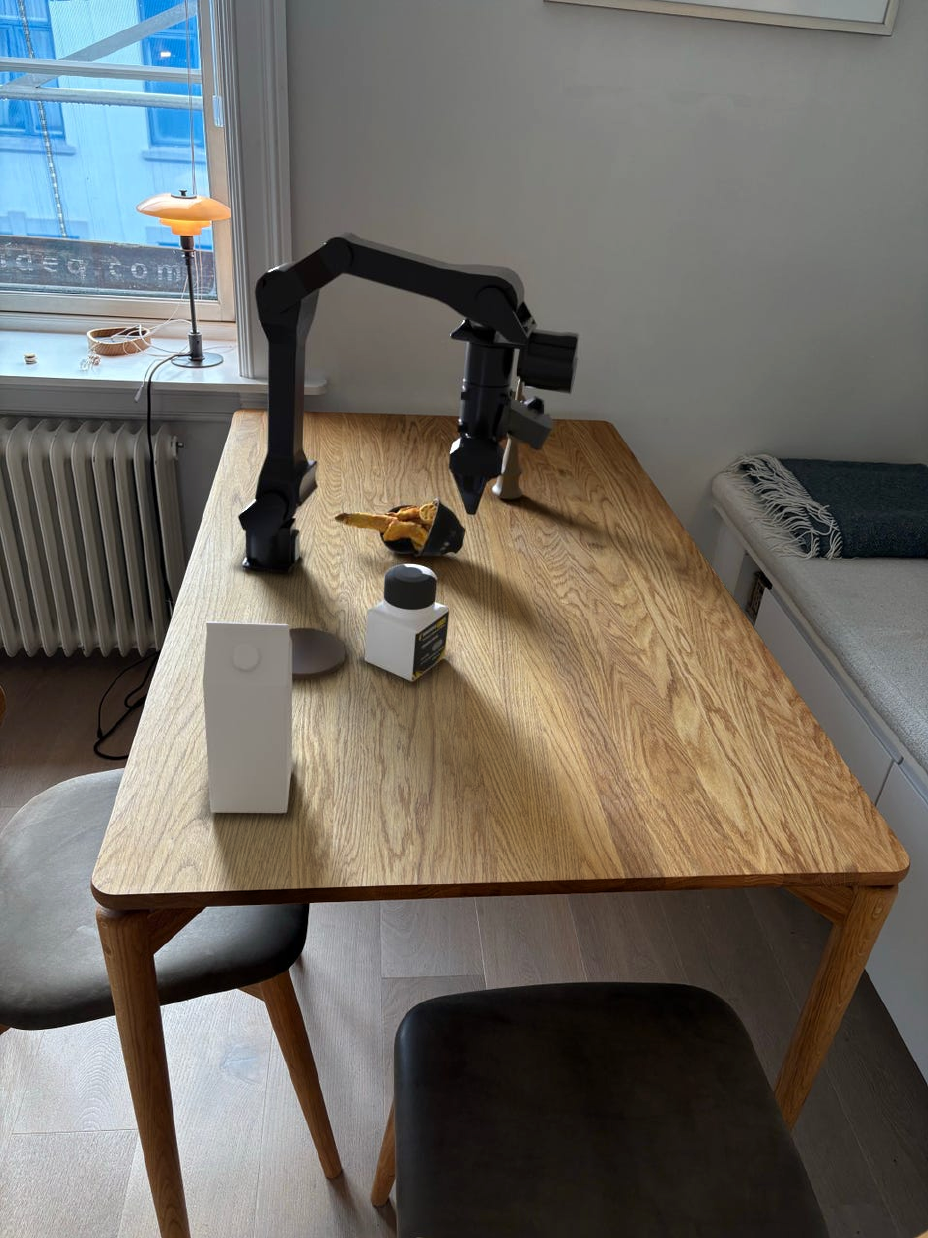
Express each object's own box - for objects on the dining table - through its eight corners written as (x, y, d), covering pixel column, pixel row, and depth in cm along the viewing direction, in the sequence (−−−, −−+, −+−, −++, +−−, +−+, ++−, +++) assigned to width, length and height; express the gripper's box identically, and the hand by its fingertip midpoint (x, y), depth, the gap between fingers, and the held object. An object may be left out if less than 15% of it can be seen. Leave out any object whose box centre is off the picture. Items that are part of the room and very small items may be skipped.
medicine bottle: (412, 683, 110) (419, 594, 104) (363, 661, 113) (367, 573, 107) (445, 657, 116) (454, 570, 110) (397, 637, 119) (403, 551, 112)
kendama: (516, 483, 164) (531, 369, 154) (531, 507, 156) (547, 388, 146) (482, 483, 163) (495, 368, 153) (495, 507, 155) (510, 387, 145)
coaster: (249, 673, 109) (249, 667, 109) (273, 628, 118) (273, 622, 117) (335, 684, 109) (335, 678, 108) (352, 638, 117) (353, 633, 117)
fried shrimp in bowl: (470, 546, 132) (348, 499, 127) (441, 589, 140) (325, 547, 136) (478, 498, 137) (361, 452, 133) (449, 543, 146) (338, 501, 141)
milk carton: (220, 764, 95) (211, 601, 85) (292, 765, 96) (292, 604, 86) (210, 814, 89) (200, 644, 79) (287, 814, 90) (286, 646, 80)
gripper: (554, 413, 105) (534, 539, 114) (554, 366, 121) (537, 479, 130) (454, 401, 106) (442, 527, 114) (468, 355, 122) (456, 469, 130)
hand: (473, 499), depth 122 cm, fingers open, 9 cm apart
